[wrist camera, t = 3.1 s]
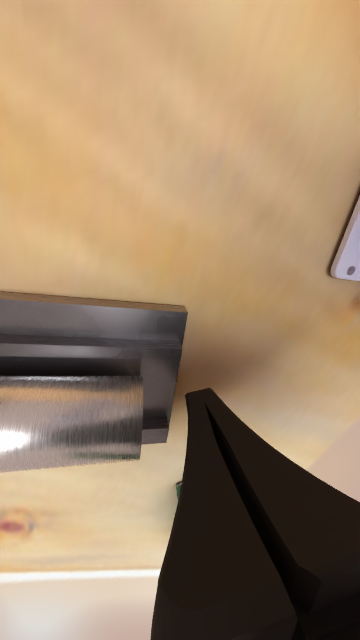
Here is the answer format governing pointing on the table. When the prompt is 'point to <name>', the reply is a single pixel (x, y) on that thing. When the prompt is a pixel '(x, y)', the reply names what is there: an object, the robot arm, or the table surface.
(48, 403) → the tube
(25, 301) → the rail
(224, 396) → the table surface
